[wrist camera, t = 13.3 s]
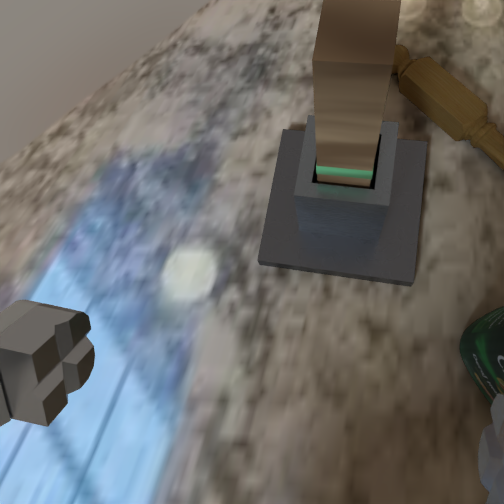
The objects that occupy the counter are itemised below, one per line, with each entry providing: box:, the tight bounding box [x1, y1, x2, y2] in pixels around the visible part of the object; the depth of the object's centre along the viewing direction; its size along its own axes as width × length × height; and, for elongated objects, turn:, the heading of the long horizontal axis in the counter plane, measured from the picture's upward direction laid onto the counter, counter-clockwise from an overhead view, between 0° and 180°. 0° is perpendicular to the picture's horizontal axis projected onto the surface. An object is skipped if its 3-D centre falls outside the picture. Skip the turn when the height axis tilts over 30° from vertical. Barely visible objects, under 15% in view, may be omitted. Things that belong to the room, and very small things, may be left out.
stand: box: [258, 115, 427, 287], centre depth 41 cm, size 14×14×10 cm
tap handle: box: [391, 45, 504, 171], centre depth 44 cm, size 3×3×30 cm
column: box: [312, 0, 401, 189], centre depth 31 cm, size 4×4×15 cm
